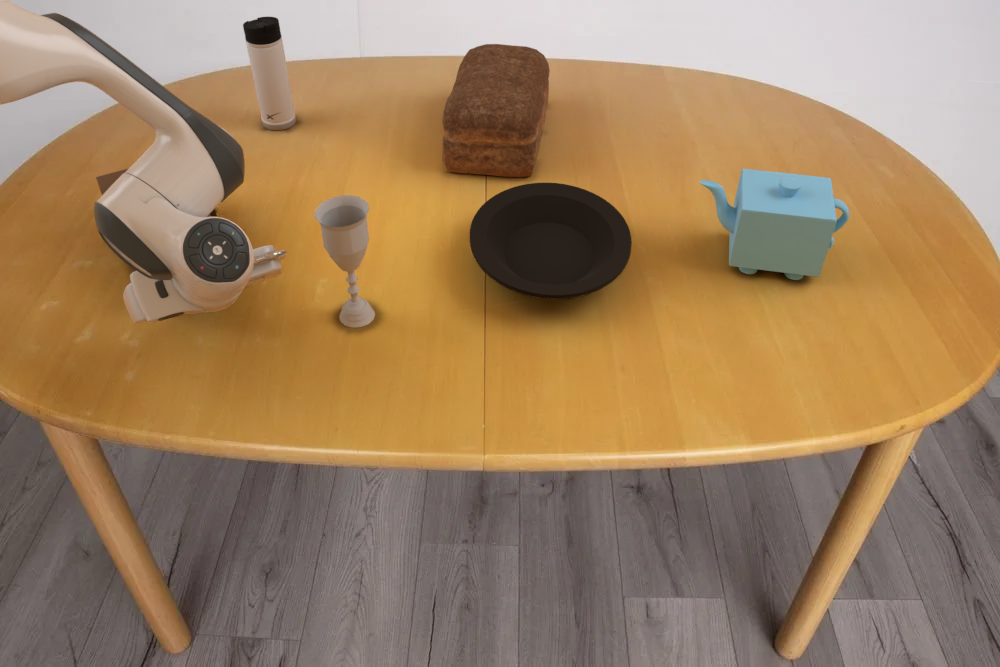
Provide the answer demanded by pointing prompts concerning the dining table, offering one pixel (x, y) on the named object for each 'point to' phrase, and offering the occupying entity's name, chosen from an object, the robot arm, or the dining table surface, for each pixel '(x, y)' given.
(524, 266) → the plate
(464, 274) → the dining table surface
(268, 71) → the travel mug
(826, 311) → the dining table surface
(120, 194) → the robot arm
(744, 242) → the teapot
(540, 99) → the bread
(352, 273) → the chalice
